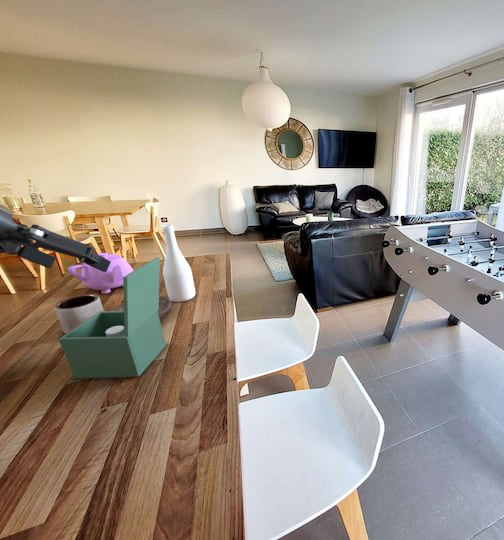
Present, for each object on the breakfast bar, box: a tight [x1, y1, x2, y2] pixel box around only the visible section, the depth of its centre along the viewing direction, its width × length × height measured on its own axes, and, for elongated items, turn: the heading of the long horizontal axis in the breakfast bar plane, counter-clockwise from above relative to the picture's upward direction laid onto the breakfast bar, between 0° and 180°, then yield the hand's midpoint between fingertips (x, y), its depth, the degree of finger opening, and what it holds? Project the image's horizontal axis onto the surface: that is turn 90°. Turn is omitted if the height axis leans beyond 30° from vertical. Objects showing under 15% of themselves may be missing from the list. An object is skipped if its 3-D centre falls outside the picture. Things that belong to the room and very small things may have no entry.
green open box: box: [58, 310, 167, 379], centre depth 79 cm, size 16×14×12 cm
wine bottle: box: [161, 224, 196, 303], centre depth 112 cm, size 10×10×30 cm
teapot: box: [67, 252, 134, 294], centre depth 119 cm, size 20×20×15 cm
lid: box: [123, 257, 161, 337], centre depth 75 cm, size 17×14×1 cm
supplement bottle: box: [106, 326, 125, 337], centre depth 79 cm, size 5×5×10 cm
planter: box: [53, 293, 105, 335], centre depth 94 cm, size 11×11×10 cm
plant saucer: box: [112, 296, 172, 319], centre depth 103 cm, size 18×18×3 cm
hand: (79, 264), depth 67 cm, fingers open, 13 cm apart
